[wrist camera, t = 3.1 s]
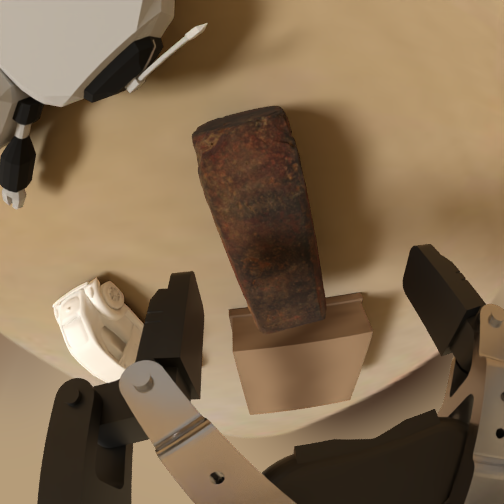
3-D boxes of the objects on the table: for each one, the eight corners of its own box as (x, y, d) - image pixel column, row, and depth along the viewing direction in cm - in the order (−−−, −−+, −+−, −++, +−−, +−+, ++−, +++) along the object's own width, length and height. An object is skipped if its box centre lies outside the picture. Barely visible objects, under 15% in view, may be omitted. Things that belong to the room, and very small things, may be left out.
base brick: (360, 292, 20) (376, 328, 17) (343, 370, 26) (351, 400, 23) (228, 309, 20) (229, 350, 17) (246, 383, 26) (248, 415, 23)
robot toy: (45, 198, 16) (230, 30, 11) (6, 237, 12) (219, 16, 7) (-38, 83, 10) (106, -93, 4) (-83, 103, 6) (67, -119, 1)
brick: (313, 268, 19) (331, 321, 15) (253, 283, 19) (258, 339, 15) (275, 100, 13) (294, 112, 9) (197, 122, 13) (181, 144, 10)
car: (54, 294, 19) (31, 338, 16) (99, 263, 18) (74, 313, 14) (149, 374, 26) (142, 416, 22) (201, 359, 24) (198, 406, 20)
